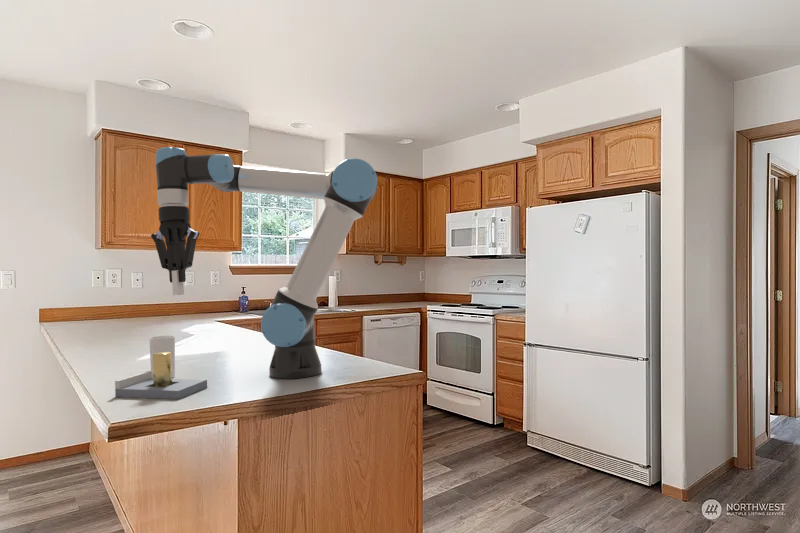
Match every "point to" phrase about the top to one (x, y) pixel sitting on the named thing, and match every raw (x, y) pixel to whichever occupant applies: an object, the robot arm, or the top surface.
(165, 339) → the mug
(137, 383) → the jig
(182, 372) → the top surface
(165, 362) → the gold rectangular block
